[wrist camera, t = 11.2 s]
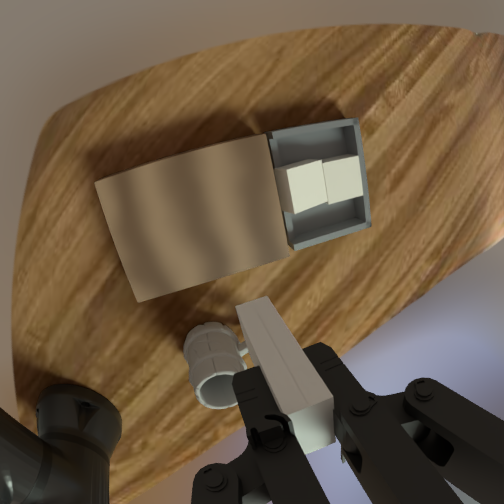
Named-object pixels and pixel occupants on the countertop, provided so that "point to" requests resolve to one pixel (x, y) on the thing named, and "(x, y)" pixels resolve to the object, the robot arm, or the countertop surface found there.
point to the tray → (320, 147)
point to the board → (195, 216)
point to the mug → (214, 363)
